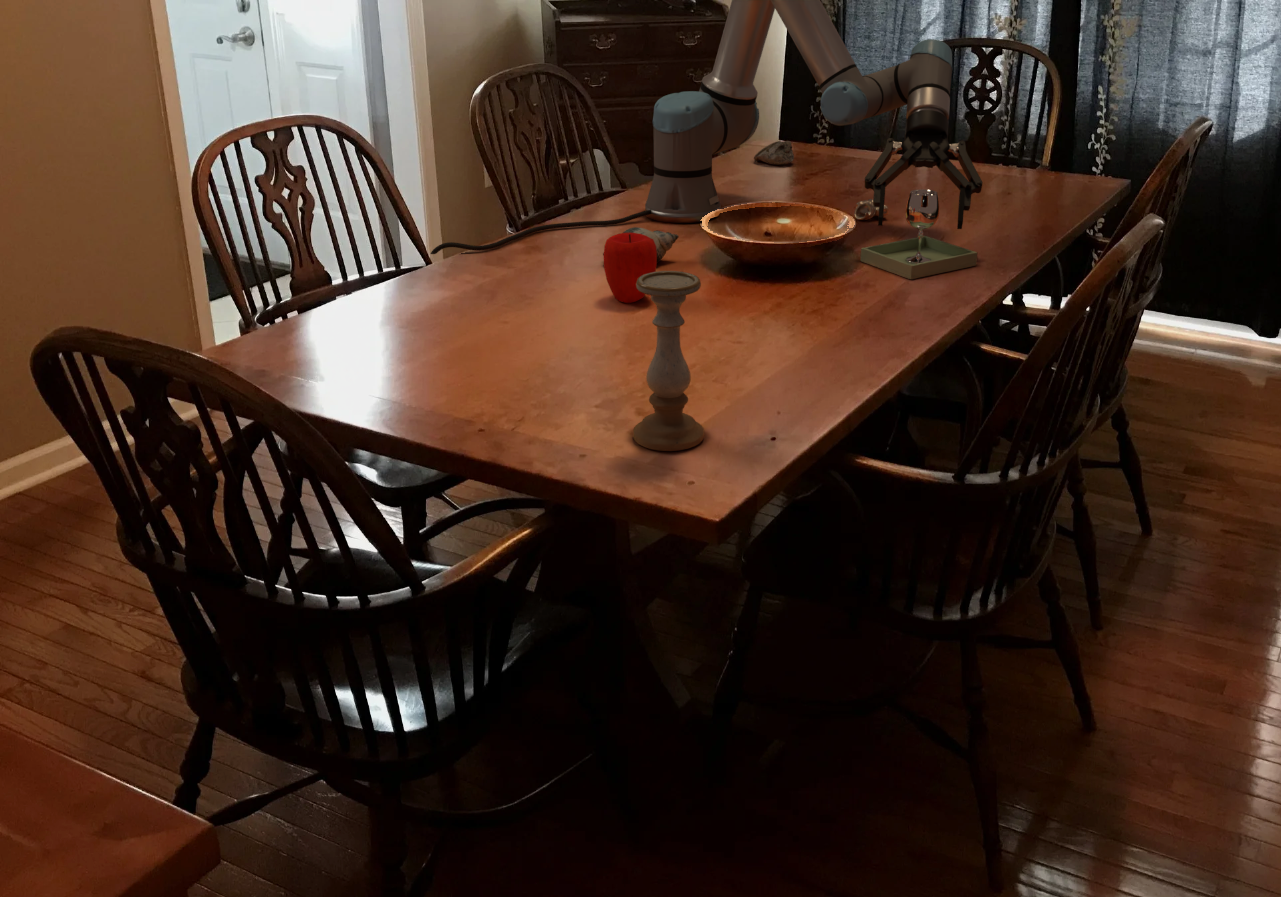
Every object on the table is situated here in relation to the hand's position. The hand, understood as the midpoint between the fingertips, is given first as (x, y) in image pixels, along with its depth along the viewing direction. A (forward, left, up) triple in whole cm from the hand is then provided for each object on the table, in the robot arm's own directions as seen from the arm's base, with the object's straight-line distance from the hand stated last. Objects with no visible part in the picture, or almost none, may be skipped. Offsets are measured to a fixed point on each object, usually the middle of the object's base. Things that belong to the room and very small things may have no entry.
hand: (920, 223), depth 220 cm
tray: (0, 0, -7) cm, 7 cm away
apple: (-53, +10, -7) cm, 54 cm away
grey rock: (+29, +81, -7) cm, 87 cm away
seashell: (-41, +27, -7) cm, 49 cm away
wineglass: (0, 0, -7) cm, 7 cm away
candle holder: (-77, -40, -7) cm, 87 cm away
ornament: (+14, +29, -7) cm, 33 cm away
